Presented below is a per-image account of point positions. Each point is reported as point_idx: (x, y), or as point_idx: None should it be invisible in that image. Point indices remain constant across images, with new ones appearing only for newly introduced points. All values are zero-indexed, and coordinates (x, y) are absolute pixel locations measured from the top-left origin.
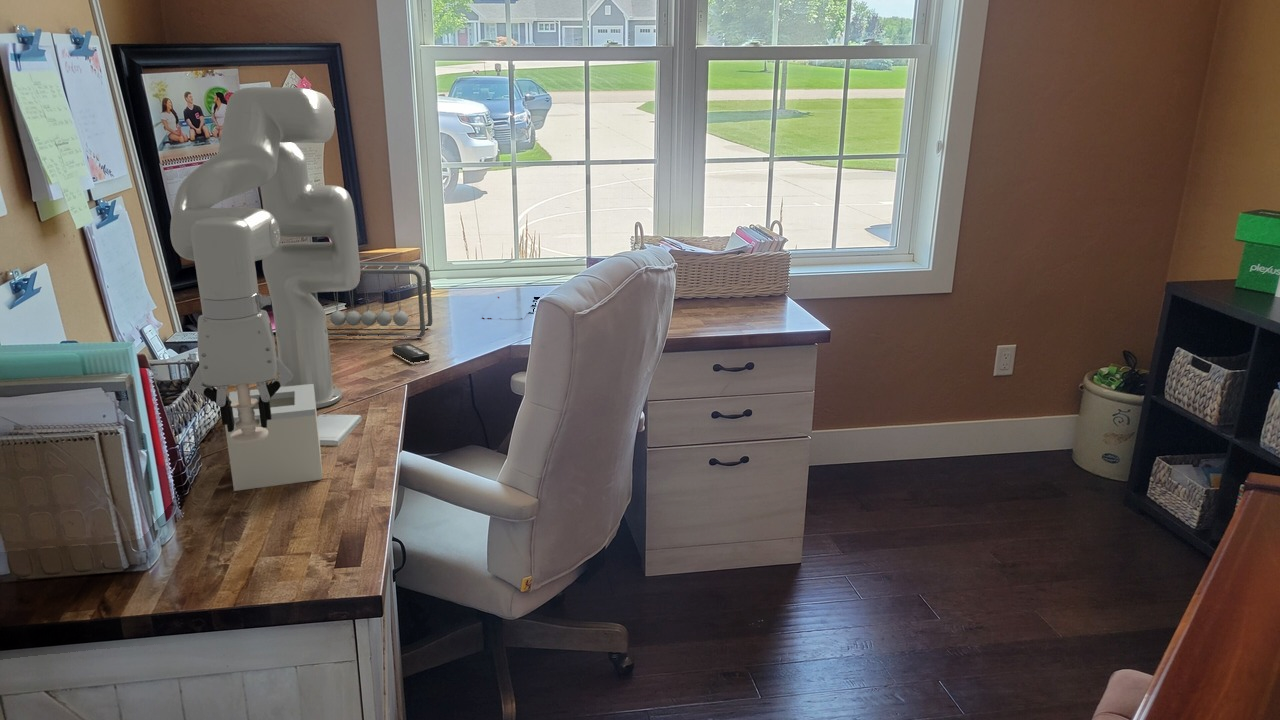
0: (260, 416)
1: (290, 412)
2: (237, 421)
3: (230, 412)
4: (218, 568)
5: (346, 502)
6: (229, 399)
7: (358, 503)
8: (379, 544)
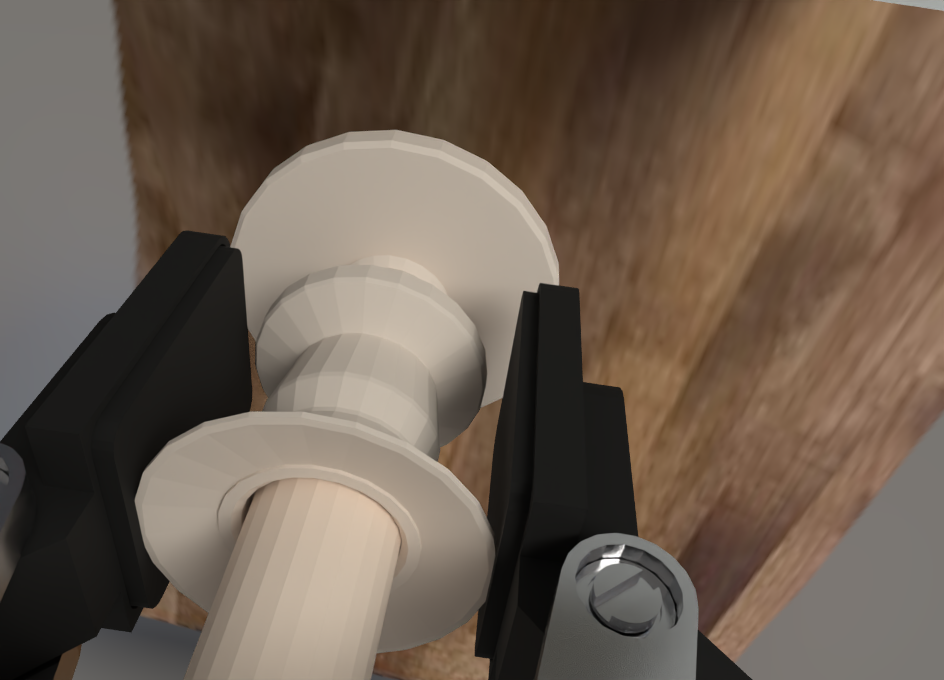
0: None
1: (933, 4)
2: (269, 357)
3: None
4: None
5: (846, 287)
6: (82, 451)
7: (887, 320)
8: (790, 599)
